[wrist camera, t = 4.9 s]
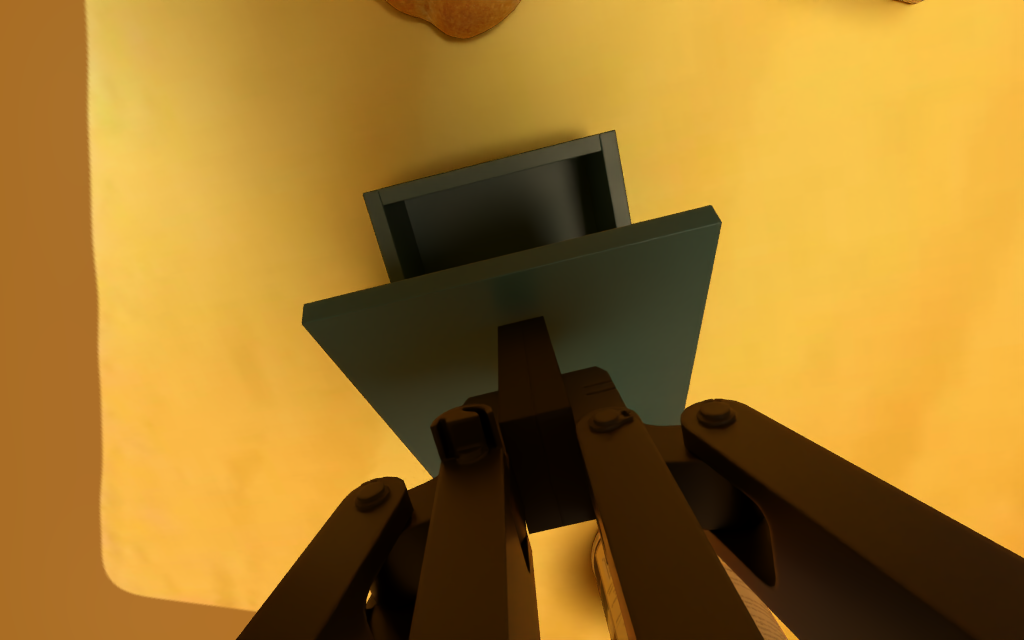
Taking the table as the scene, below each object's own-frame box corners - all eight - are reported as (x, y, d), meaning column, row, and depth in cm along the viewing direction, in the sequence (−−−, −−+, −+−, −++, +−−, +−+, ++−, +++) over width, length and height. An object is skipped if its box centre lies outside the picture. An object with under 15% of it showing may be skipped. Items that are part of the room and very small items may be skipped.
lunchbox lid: (303, 303, 16) (300, 324, 16) (711, 204, 15) (722, 222, 15) (455, 493, 30) (457, 506, 30) (670, 444, 30) (675, 457, 29)
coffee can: (700, 613, 42) (796, 826, 29) (576, 595, 41) (615, 804, 28) (742, 506, 39) (870, 685, 26) (610, 483, 38) (671, 656, 25)
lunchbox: (389, 187, 32) (361, 193, 26) (590, 136, 32) (615, 129, 25) (464, 436, 37) (457, 495, 31) (639, 396, 37) (670, 447, 30)
